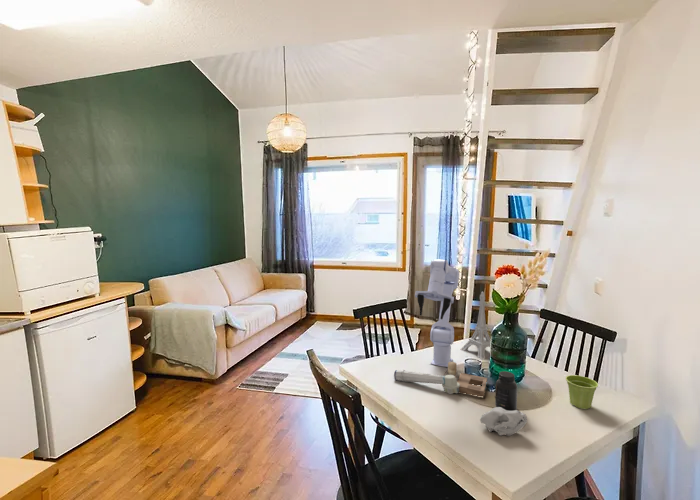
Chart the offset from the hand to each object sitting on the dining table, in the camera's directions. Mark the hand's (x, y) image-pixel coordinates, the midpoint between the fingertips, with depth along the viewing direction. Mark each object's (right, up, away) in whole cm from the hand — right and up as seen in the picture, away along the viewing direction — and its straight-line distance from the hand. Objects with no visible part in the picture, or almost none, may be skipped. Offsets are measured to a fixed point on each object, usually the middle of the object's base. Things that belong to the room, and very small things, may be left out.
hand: (430, 316), depth 128 cm
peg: (+11, -28, +11) cm, 32 cm away
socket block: (+17, -28, +4) cm, 33 cm away
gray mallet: (0, -29, +6) cm, 30 cm away
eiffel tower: (+34, -26, +40) cm, 59 cm away
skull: (+17, -31, -23) cm, 42 cm away
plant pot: (+50, -30, -8) cm, 59 cm away
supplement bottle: (+24, -30, -9) cm, 39 cm away
